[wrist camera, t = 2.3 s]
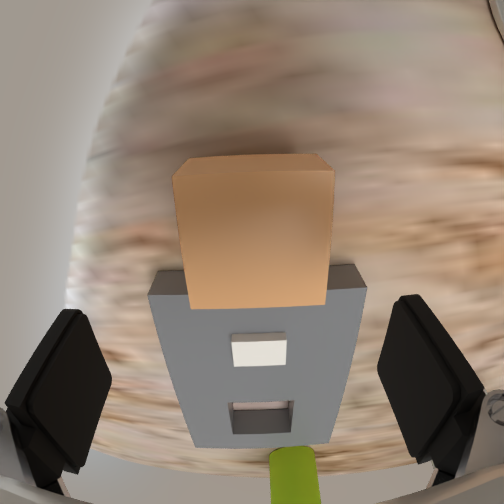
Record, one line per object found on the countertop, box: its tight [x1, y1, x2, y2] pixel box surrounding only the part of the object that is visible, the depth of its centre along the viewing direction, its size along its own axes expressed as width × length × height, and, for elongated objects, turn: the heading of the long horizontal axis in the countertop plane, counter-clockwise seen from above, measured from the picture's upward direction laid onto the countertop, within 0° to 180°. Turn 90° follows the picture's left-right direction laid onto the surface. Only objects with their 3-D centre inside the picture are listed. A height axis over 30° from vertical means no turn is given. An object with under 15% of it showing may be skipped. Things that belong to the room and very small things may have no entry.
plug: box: [172, 154, 335, 309], centre depth 17 cm, size 7×7×7 cm
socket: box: [147, 264, 367, 449], centre depth 25 cm, size 20×14×4 cm
